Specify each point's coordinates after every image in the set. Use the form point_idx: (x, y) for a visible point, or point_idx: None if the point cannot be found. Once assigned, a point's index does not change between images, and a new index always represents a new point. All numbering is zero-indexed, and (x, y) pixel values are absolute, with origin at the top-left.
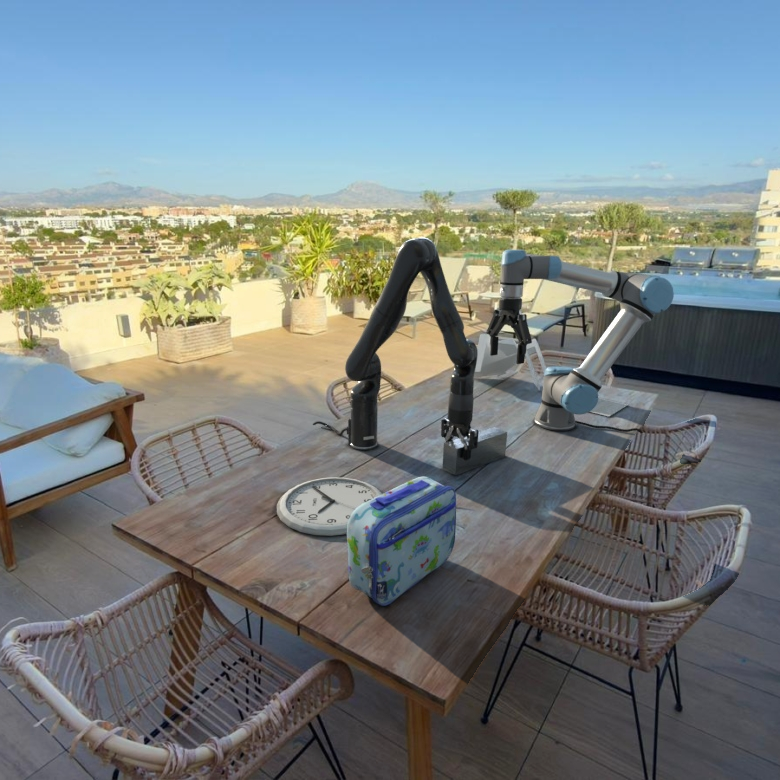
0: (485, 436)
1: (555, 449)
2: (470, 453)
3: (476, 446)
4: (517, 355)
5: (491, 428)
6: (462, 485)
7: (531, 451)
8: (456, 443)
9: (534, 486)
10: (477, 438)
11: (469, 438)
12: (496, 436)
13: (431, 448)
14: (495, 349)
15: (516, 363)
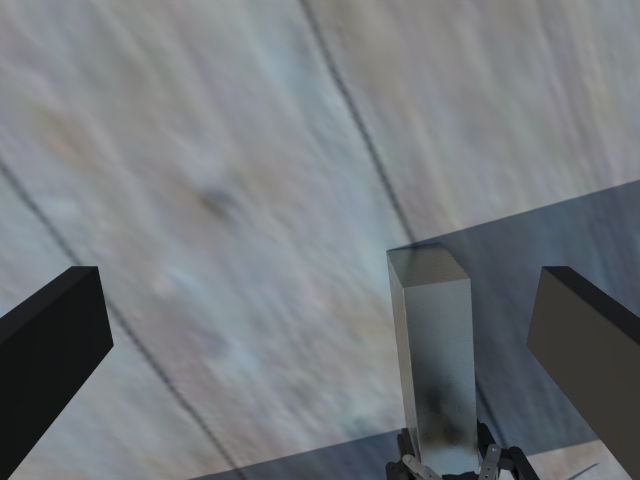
0: (456, 367)
1: (499, 32)
2: (491, 437)
3: (522, 454)
4: (588, 412)
5: (411, 306)
6: (500, 430)
7: (459, 133)
8: (448, 465)
9: (618, 295)
10: (537, 477)
11: (497, 471)
12: (472, 330)
13: (283, 386)
14: (63, 338)
15: (527, 346)
